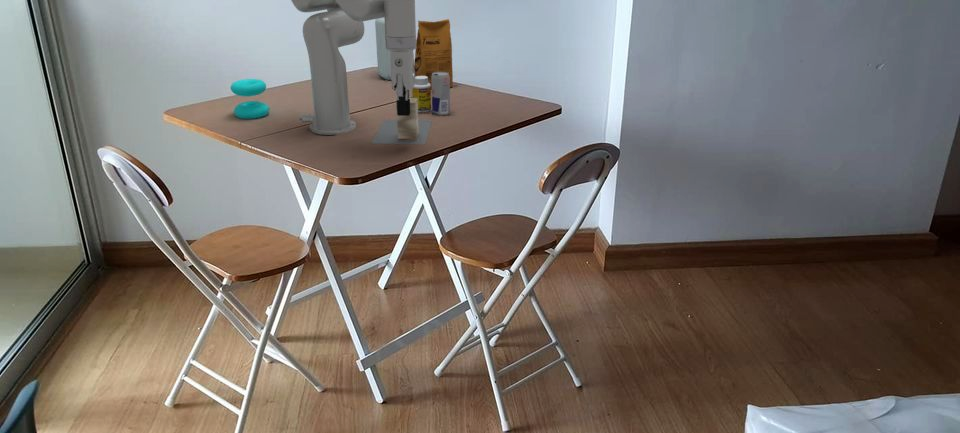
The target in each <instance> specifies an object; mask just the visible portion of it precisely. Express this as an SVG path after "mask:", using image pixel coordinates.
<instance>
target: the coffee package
mask: <svg viewBox="0 0 960 433" xmlns="http://www.w3.org/2000/svg"><path fill="white" fill-rule="evenodd" d="M417 22H418V23H417V24H418V25H417V27H418V30H417V33H416V49H415V50H414V52H415V53H414V54H415V55H414V68H415V77H416V76H427V77H428V83H430V85H431V89H432V83H431V76H432V73H434V72H447V73H449V76H450V88H452V87H453V84H454V83H453V80H454V79H453V78H454V76H453V74H454V73H453V44H452V38H451V36H452V34H451V23H450V19H449V18H447V19H442V20H437V21H428V20H427V21H426V20H417Z"/></svg>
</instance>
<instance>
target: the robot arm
mask: <svg viewBox="0 0 960 433" xmlns="http://www.w3.org/2000/svg"><path fill="white" fill-rule="evenodd" d="M290 1H291V3H292V4H293V6H294V7H295V9H296V10H297V11H299V12H301V13H314V12H318V13H314V14H311V15H310V16H309V17H307V18H306V19H305V21H304V22H303V25H302V37H303V40H304V44H305V48H306V50H307V54H308V62H309V70H310V78H311V80H310V81H311V88H312V99H313V111H314V112H311V113H310V114H308V113H300V114H299V120H300V121H302V123H310V128H309V129H310V131H311V132H312V133H314V134H317V135H321V136H322V135H324V136H328V135H329V136H334V135H335V136H336V135H341V134H346V133H349V132H352V131H354V130H356V128H357V124H356V122H355V121H354V120H352V119H351V114H350V113H351V112H350V102H349V101H350V98H349V91H348V77H347V76H348V74H347V66H346V64H347V63H346V61H345V59H344V57H343V56H342V54H341V52H340V50H339V48H340V47H345V46H349V45H354V44H357V43H358V42H360V41H361V40H362V38H363V37H364V35H365V24H364V22H367V21H372V20H376V19H379V18H384V22H385V41H386V49H387V50H390V56H391V59H390V60H391V80H390V81H391V88H392V90H393V91H395V92H396V103H397V107H396V116H397V115H398V116H409V115H410V99H408V98H410V91H412V89H413V87H414V85H415V68H414V64H415V55H414V54H415V53H414V51H415V50H416V40H417V30H416V28H417V26H416V22H417V21H416V0H290ZM319 11H320V12H319ZM321 11H323V12H321Z"/></svg>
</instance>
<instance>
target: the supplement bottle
mask: <svg viewBox="0 0 960 433" xmlns="http://www.w3.org/2000/svg"><path fill="white" fill-rule="evenodd" d="M411 91H412V92H411V94H412V98H417V99H418V114H419V113H422V114H423V113H424V114H425V113H428V112H430V111H432V88H431V85H430V83H428V77H427V76H416V77H415V85H414V87H413V89H412V90H411Z"/></svg>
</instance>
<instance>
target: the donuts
mask: <svg viewBox="0 0 960 433" xmlns="http://www.w3.org/2000/svg"><path fill="white" fill-rule="evenodd" d="M230 90H231V92H232V93H233V94H234V95H236V96H239V97H255V96H259V95H261V94H263V93H264V92H265V91H266V90H267V84H266V82H265V81H264V80H262V79H257V78H246V79H245V78H244V79H240V80H236V81H234V82H232V84H230ZM269 108H270V107H269V105H267V104H266V103H265V102H262V101H257V100H254V101H253V100H248V101H244V102H240V103H239V104H237V105H236V106H235V107H234V109H233V113H234V115H235V116H236V117H237V118H239V119H243V120H244V119H246V120H253V119H260V118H263V117H266V116H267V115H268V113H269V111H270V109H269Z"/></svg>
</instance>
